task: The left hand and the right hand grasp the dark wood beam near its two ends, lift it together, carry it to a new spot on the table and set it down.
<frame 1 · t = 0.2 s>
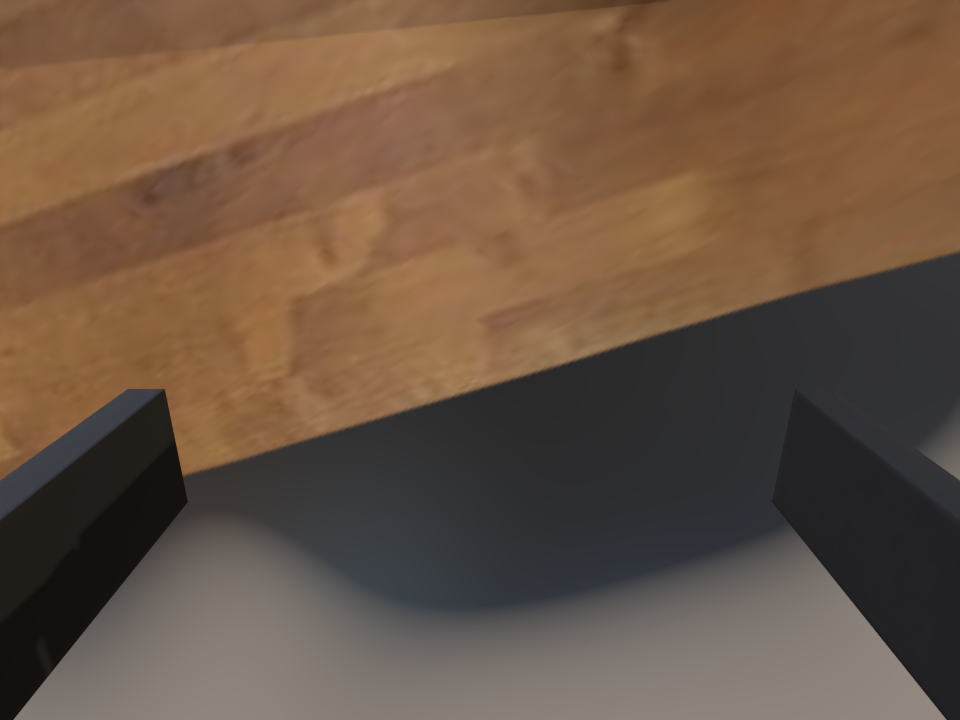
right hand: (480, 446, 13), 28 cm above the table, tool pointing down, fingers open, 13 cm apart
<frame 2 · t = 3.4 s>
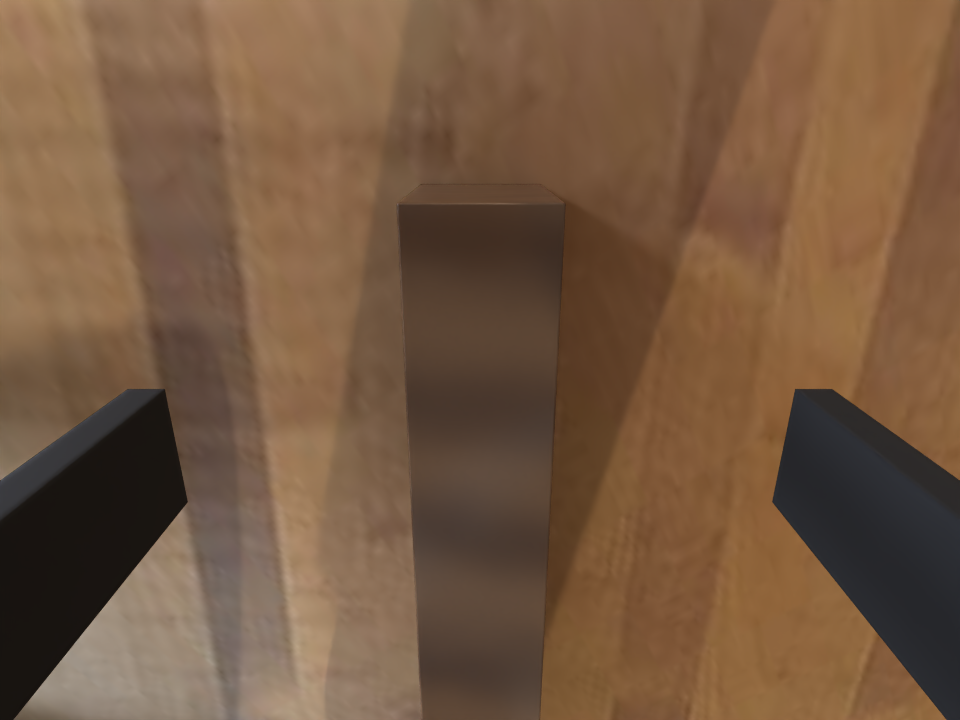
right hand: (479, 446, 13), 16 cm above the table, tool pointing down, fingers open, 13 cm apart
beam: (480, 707, 37), on the table, touching left hand
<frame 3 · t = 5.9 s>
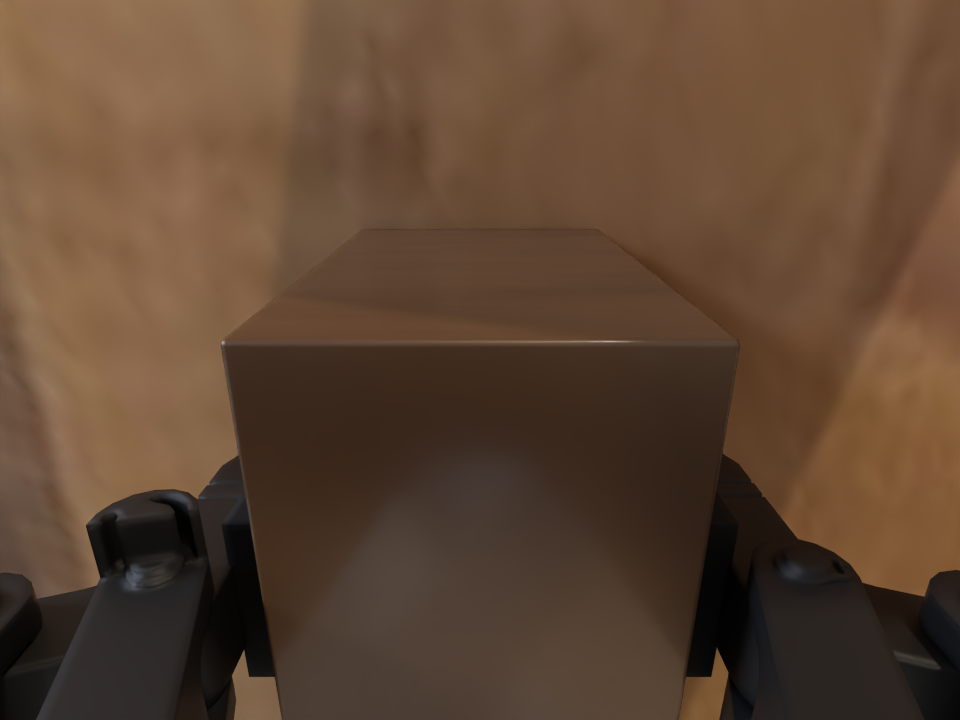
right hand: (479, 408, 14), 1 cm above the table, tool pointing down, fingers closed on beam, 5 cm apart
when the left hand's fingers open (1 cm above the table, at t = 10.2 s): beam stays where it is, on the table.
when the right hand's fingers open (1 cm above the table, at t = 10.2 s): beam stays where it is, on the table.
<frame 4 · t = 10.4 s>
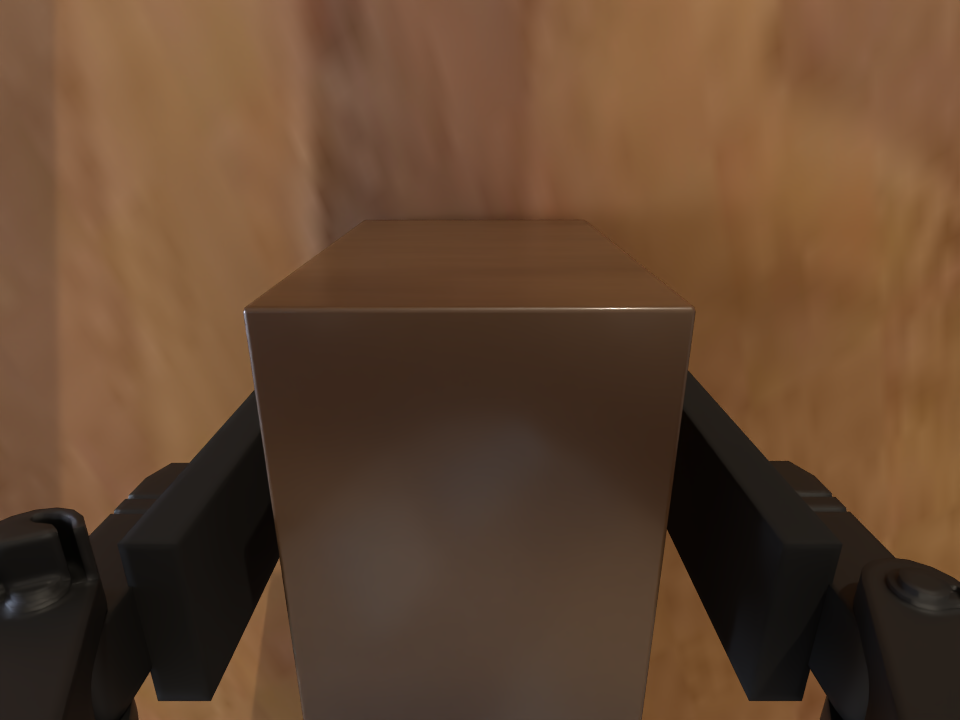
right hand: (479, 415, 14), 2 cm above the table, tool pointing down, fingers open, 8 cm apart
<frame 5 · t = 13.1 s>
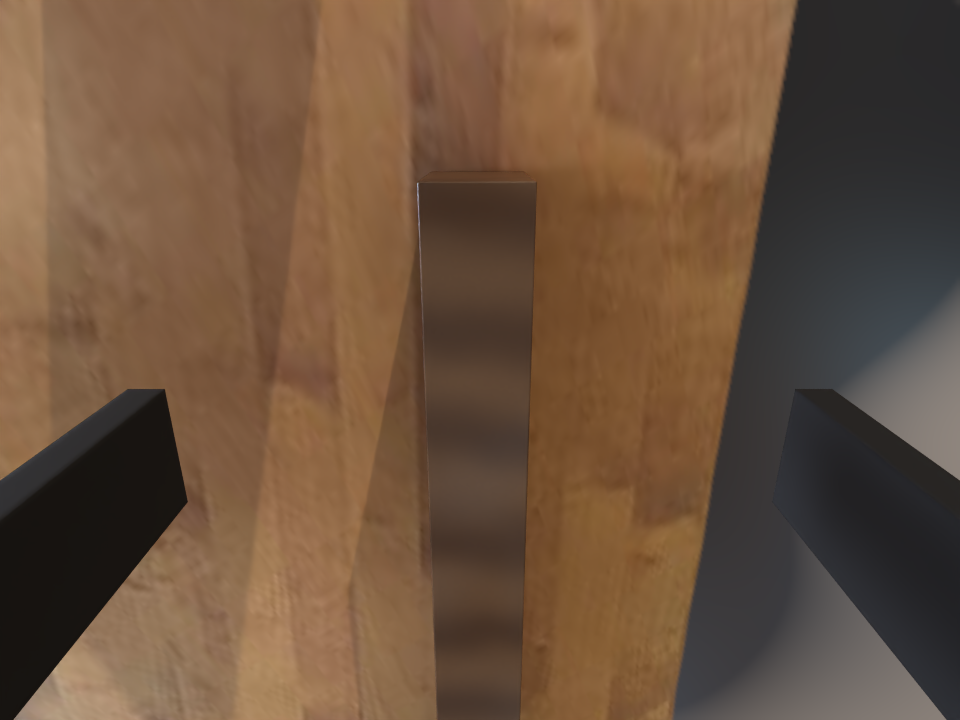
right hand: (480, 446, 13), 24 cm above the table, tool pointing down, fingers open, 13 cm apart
beam: (478, 607, 45), on the table
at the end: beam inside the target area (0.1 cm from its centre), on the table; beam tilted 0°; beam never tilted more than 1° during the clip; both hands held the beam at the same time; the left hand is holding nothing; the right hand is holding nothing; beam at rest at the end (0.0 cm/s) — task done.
